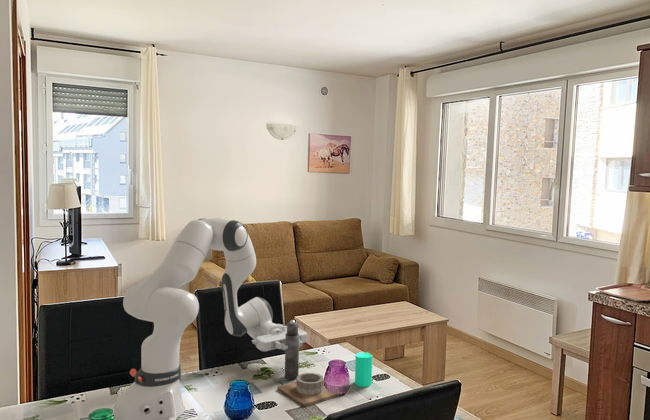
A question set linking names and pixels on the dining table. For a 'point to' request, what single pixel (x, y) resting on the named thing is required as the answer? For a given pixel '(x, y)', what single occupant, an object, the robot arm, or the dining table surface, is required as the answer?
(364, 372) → the candle
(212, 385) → the dining table surface
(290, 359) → the pepper mill
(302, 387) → the ring holder
